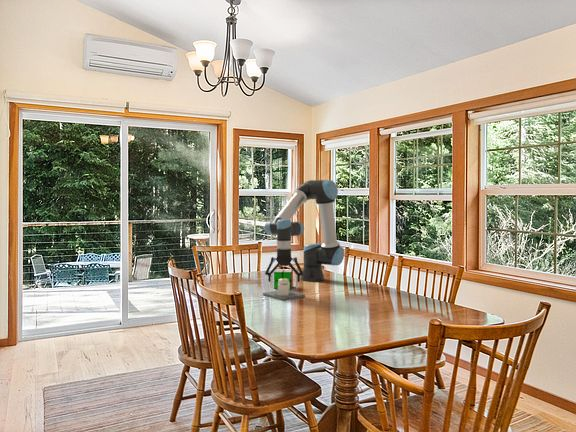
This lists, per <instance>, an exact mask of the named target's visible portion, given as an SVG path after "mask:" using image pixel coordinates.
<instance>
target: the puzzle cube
mask: <svg viewBox="0 0 576 432" xmlns="http://www.w3.org/2000/svg"><path fill="white" fill-rule="evenodd" d="M278 279H289V282H290V284H289V290H292V289H293V286H294V271H293V270H292V269H280V268H279V269H277V268H276V269H275V271H274V272H273V280H274V281H273V289H274V290H278Z"/></svg>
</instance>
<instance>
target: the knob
mask: <svg viewBox="0 0 576 432" xmlns="http://www.w3.org/2000/svg"><path fill="white" fill-rule="evenodd" d="M285 284H286V285H285ZM289 284H290V282H289V279H278V289H277V291H278V295H289V291H290V289H289Z"/></svg>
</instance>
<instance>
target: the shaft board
mask: <svg viewBox="0 0 576 432" xmlns="http://www.w3.org/2000/svg"><path fill="white" fill-rule="evenodd" d="M285 285H286V284H285ZM262 296H265V297H268V298H272V299H275V300H279V301H289V300H296V299H301V298H305V297H306V294H304V293H301V292H295V291H292V290H289V295H278V290H273V291H266V292H262Z"/></svg>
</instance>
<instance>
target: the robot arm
mask: <svg viewBox="0 0 576 432" xmlns="http://www.w3.org/2000/svg"><path fill="white" fill-rule="evenodd" d="M338 194H339V190H338V187H337V184H336V182H335V181H333V180H331V179H329V180H328V179H315V180H314V179H312V180H308V181H305V182H303V183H301V184H300V185H299V186H297V188H296V189H295V190H294V191H293V193H292V196H291V198H290V199H289V200H288V201H287V202H286V203H285V205H284V206H283V208H282V209H281V210H280V211H279V212H278V214H277V215H276V216H275V218H274V219H273V220H268V221H266V222H265V224H264V231H265V233H266V234H267V235H272V236H276V248H277V249H276V257H273V256H272V257H270V262H269V265H268V266H267V268H266V271H265V272H264V274H265V275H266V276H268V282H269V283H270V289H273V274H274V272H275V271H276V270H277V268H278V267H279V266H281V267H289V268H290V270H293V273H294V274H295V275H296V276H295V289H297V290H298V289H299V287H298V284H299V283H300V281H306V282H322V281H324V280H325V275H324V272H323V267H322V265H328V266H340V265H341V264H342V263H343V260H344V257H345V249H344V247H342V246H341V243H340V242H339V241H338V238H337V232H336V231H337V229H336V220H335V212H334V203H335V202H336V199H337V198H338ZM309 200H315V204H316V205H317V206H318V209H319V219H320V226H321V236H322V243H321V242H320V243H309V244H308V243H307V244H305V245H304V247H303V267H302V268H301V266H300V264H299V262H298V257H296V256H295V257H292V249H291V248H292V237H299V236H302V235H303V233H304V231H305V226H304V225H303V223H302V222H300V221H292V220H291V219H292V218H293V216H294V215H295V214H296V213H297V212H298V210H299V209H300V208H301V207H302V205H303V204H305V203H307V201H309ZM275 261H276V262H277V263H276V265H275V266H274V267H273V268H272V269H271V267H272V265H273V264H274V263H275ZM292 261H293V262H294V264H295V265H296V267H297V269H296V268H295V266H294V265H293V264H292ZM270 269H271V271H270ZM269 271H270V272H269Z"/></svg>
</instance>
